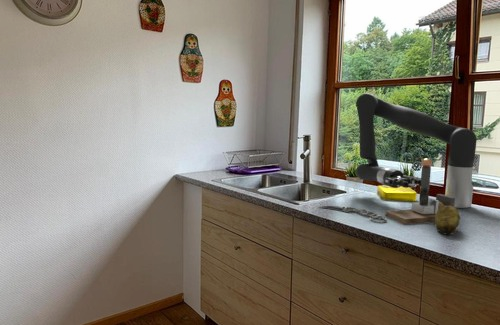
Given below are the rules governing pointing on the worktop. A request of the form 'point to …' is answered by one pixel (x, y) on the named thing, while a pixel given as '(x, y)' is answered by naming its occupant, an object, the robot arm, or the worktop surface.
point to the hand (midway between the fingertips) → (417, 184)
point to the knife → (359, 211)
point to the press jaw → (425, 192)
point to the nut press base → (416, 217)
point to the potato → (447, 219)
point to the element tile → (396, 193)
